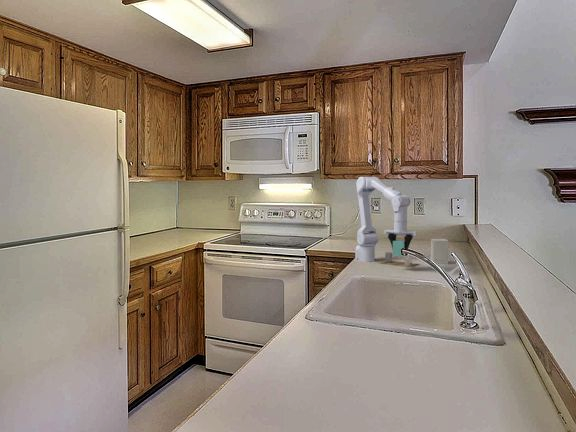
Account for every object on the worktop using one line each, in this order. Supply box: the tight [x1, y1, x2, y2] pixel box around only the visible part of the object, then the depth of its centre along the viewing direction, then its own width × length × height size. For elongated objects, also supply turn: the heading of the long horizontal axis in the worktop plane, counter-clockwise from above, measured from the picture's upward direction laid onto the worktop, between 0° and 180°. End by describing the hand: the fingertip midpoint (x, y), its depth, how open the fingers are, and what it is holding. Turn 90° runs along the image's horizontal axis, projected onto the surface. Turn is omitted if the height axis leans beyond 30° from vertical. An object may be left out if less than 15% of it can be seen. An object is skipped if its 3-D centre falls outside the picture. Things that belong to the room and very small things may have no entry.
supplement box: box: [429, 238, 449, 265], centre depth 195 cm, size 7×7×13 cm
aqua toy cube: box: [392, 239, 405, 257], centre depth 181 cm, size 5×5×7 cm
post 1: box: [384, 251, 393, 263], centre depth 197 cm, size 3×3×5 cm
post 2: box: [404, 255, 413, 266], centre depth 191 cm, size 3×3×5 cm
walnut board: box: [377, 259, 420, 269], centre depth 194 cm, size 18×9×1 cm, turn 55°
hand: (400, 250), depth 181 cm, fingers closed on aqua toy cube, 5 cm apart
